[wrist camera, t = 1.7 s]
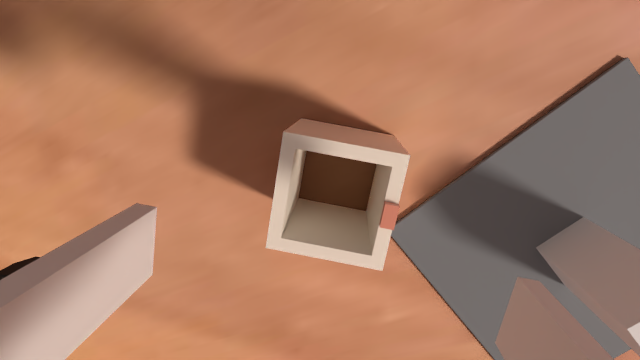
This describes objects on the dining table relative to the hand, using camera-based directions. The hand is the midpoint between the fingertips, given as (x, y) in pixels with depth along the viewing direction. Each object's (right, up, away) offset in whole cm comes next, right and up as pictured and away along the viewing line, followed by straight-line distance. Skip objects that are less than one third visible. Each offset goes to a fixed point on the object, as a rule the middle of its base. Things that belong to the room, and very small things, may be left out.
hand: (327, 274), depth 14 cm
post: (+19, -2, +16) cm, 25 cm away
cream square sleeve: (+1, +4, +16) cm, 16 cm away
